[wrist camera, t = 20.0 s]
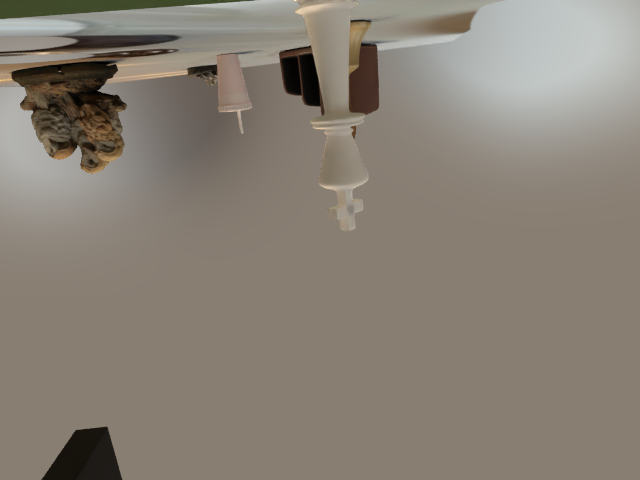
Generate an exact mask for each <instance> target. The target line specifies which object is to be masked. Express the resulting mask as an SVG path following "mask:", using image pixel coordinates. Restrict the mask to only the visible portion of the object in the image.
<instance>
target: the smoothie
mask: <svg viewBox="0 0 640 480" xmlns="http://www.w3.org/2000/svg"><path fill="white" fill-rule="evenodd" d="M217 71H218V92H219V93H218V94H219V107H218V111H219V112H231V111H237V113H238V120H239V126H240V133H243V126H242V120H241V113H240V111H241V110H247V109H250V108H252V103H250V100H249V96H248V93H247V89H246V85H245V81H244V78H243V74H242V70H241V66H240V62H239V59H238V55H237V54H226V55H219V56H217Z"/></svg>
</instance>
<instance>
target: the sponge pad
mask: <svg viewBox="0 0 640 480" xmlns="http://www.w3.org/2000/svg"><path fill="white" fill-rule="evenodd" d="M240 1H253V0H0V19H7V18H21V17H34V16H48V15H62V14H75V13H89V12H103V11H116V10H130V9H144V8H158V7H171V6H185V5H199V4H212V3H226V2H240Z"/></svg>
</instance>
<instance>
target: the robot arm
mask: <svg viewBox="0 0 640 480" xmlns="http://www.w3.org/2000/svg"><path fill="white" fill-rule="evenodd" d="M42 480H122V477H121V474H120V471H119V467H118V463H117V459H116V456H115V452H114V449H113V445H112V442H111V438H110V435H109V431H108V428H107V427H100V428H91V429H82V430H76V431H75V432H74V433H73V435H72V437H71V438H70V439H69V441H68V442H67V444H66V445H65V447H64V448H63V450H62V451H61V453H60V454H59V455H58V457H57V458H56V460H55V461H54V463H53V464H52V465H51V467H50V468H49V470H48V471H47V473H46V474H45V476H44V477H43V478H42Z"/></svg>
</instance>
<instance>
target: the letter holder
mask: <svg viewBox="0 0 640 480" xmlns="http://www.w3.org/2000/svg"><path fill="white" fill-rule="evenodd" d="M279 57H280V64H281V71H282V78H283V84H284V89H285V92H286V93H287V94H291V95H298V96H299V95H301V96H302V100H303V102H304V104H305V105H308V106H321V114H322V116H323V115H324V114H325V110H324V104H323V99H322V95H321V89H320V84H319V79H318V75H317V70H316V65H315V61H314V56H313V52H312V48H311V47H306V48H300V49H295V50H290V51H284V52H280V53H279ZM349 79H350V81H349V83H350V86H349V88H350V102H351V106H352V109H353V112H354V113H363V114H365V115H366V114H369V113H371V112H373V111H375V110H377V109H378V108H379V91H378V90H379V89H378V88H379V83H378V82H379V81H378V59H377V45H376V44H374V45H361V46H360V53H359V66H358V68H357V69H355V70H354V71H353V72H351V73H350V75H349Z"/></svg>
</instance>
